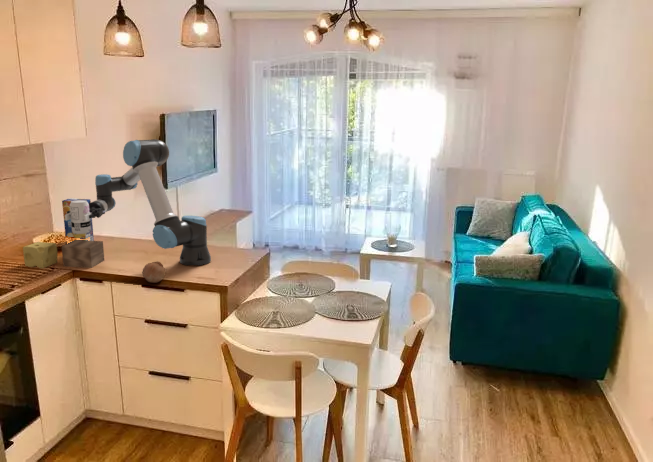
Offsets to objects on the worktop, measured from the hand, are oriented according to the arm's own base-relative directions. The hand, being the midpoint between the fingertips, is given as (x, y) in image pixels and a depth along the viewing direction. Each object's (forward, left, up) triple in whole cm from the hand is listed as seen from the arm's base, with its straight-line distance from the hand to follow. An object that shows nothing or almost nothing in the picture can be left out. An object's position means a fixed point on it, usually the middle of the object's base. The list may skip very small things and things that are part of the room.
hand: (75, 218), depth 241 cm
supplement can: (+1, -5, -8) cm, 10 cm away
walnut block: (+1, -5, -24) cm, 24 cm away
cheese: (+19, +2, -24) cm, 30 cm away
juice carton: (+26, -37, -24) cm, 51 cm away
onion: (-44, +10, -24) cm, 51 cm away
